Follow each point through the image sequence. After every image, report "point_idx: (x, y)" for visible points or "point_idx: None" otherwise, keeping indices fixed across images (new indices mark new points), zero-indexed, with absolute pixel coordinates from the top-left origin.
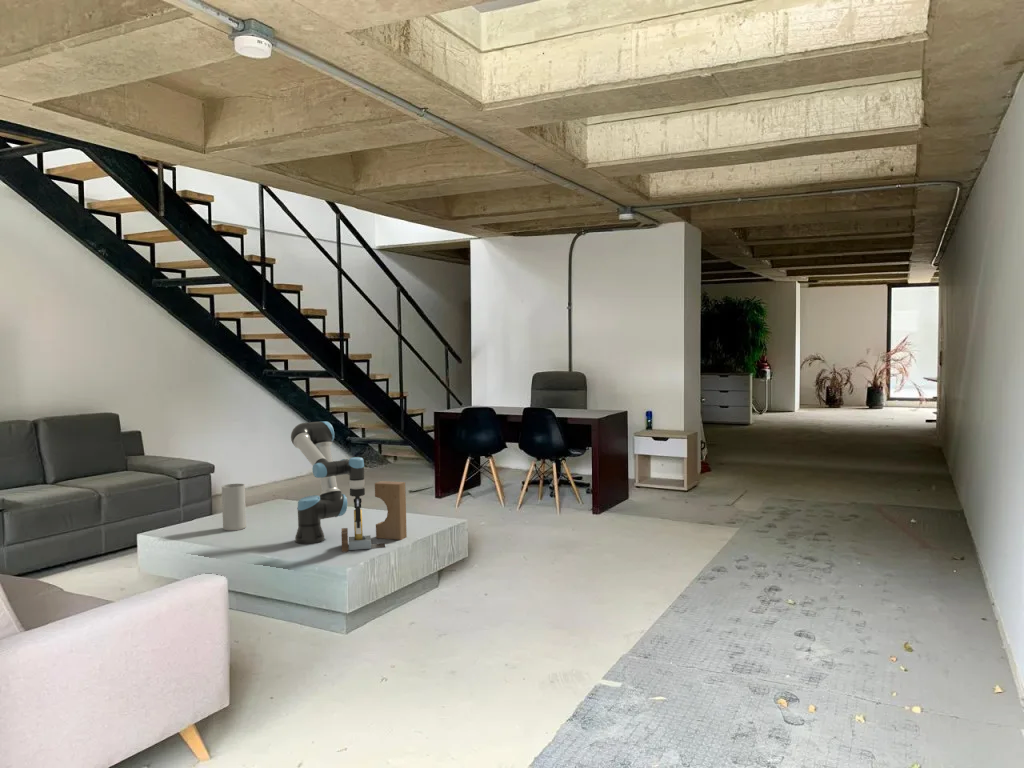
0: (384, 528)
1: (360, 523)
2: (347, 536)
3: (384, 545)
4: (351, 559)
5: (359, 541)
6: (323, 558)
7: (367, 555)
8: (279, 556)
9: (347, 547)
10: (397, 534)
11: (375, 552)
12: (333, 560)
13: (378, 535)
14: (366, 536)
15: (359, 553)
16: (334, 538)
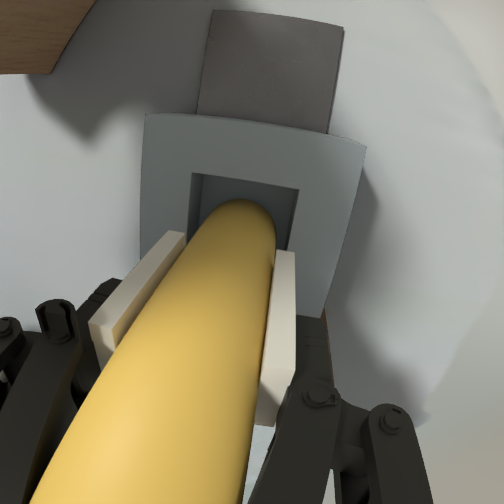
0: (38, 1)
1: (292, 346)
2: (332, 376)
3: (287, 20)
4: (484, 305)
5: (339, 253)
6: (379, 403)
7: (478, 210)
8: (254, 474)
9: (325, 318)
10: None
11: (445, 139)
12: (438, 373)
13: (48, 56)
14: (174, 155)
15: (412, 244)
16: (26, 295)
